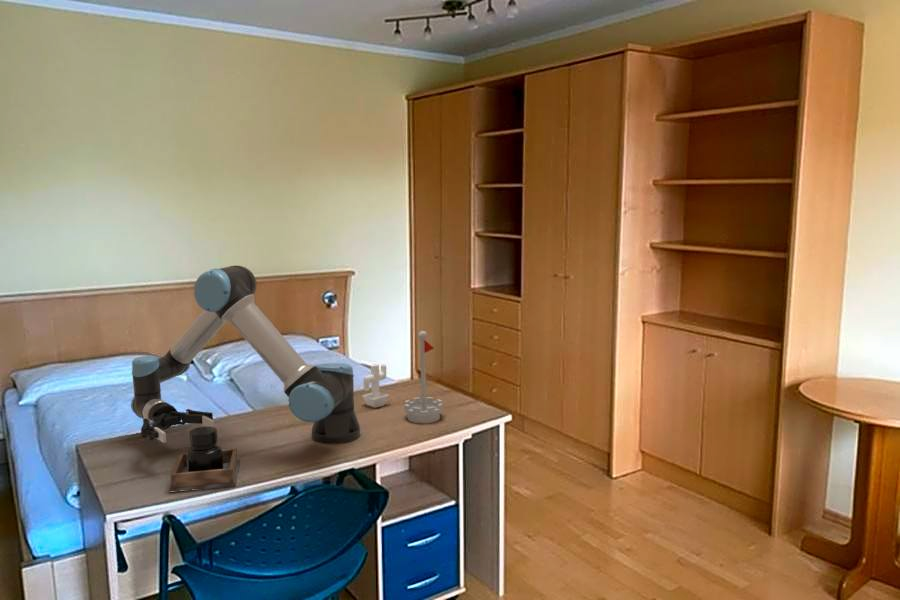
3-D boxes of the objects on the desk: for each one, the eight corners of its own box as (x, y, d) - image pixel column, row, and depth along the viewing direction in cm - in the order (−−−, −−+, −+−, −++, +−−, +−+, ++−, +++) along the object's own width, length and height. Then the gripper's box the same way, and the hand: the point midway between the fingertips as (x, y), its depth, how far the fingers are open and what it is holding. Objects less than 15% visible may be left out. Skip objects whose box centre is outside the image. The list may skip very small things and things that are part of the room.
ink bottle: (208, 464, 185) (205, 422, 183) (231, 469, 181) (229, 427, 179) (179, 477, 176) (176, 433, 175) (203, 483, 172) (200, 439, 171)
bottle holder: (239, 462, 188) (238, 447, 188) (235, 486, 173) (234, 469, 172) (179, 468, 185) (178, 453, 184) (169, 493, 169) (168, 476, 169)
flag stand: (396, 418, 225) (394, 331, 221) (423, 409, 235) (422, 325, 230) (424, 427, 217) (423, 336, 212) (450, 417, 226) (450, 330, 222)
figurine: (359, 405, 239) (357, 365, 237) (379, 400, 246) (378, 360, 243) (371, 410, 234) (370, 368, 232) (392, 404, 240) (391, 364, 238)
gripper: (202, 416, 209) (232, 433, 193) (117, 436, 192) (143, 456, 176) (200, 393, 207) (231, 408, 192) (115, 411, 190) (141, 429, 175)
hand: (189, 431), depth 184 cm, fingers open, 13 cm apart
